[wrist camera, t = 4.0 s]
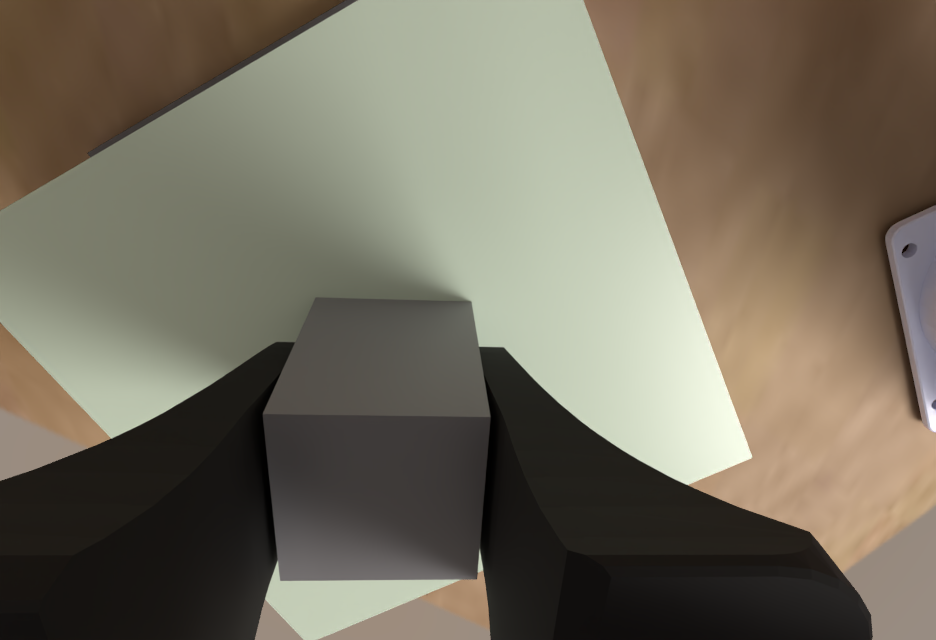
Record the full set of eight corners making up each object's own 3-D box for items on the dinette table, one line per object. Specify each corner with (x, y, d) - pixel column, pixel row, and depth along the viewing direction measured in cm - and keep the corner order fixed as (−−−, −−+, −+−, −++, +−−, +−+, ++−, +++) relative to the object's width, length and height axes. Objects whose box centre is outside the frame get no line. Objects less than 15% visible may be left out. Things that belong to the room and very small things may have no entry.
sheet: (740, 442, 14) (869, 605, 10) (311, 623, 16) (269, 828, 12) (536, -100, 9) (620, -216, 5) (-44, 241, 11) (-327, 356, 7)
